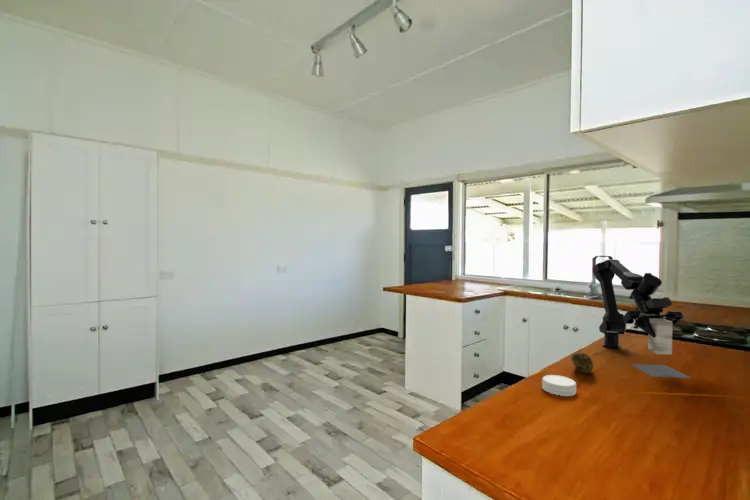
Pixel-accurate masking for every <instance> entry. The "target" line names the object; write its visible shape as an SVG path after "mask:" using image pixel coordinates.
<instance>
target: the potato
mask: <svg viewBox="0 0 750 500" xmlns="http://www.w3.org/2000/svg"><path fill="white" fill-rule="evenodd" d="M570 361H571V363H572V365H573V366H574V367H575V369H576V370H578V371H580V372H582V373H585V374H588V373H591V372H592V371H593V369H594V362H593V360H592V358H591V356H590V355H589V354H588V353H585V352H581V351H580V352H579V351H578V352H575V353H572V355H571V356H570Z"/></svg>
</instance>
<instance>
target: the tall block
mask: <svg viewBox="0 0 750 500" xmlns="http://www.w3.org/2000/svg"><path fill="white" fill-rule="evenodd" d="M649 323H650V325H651V326H652V328H653V330H654V332H655V335H656V337H652V336H651V335H650V334H648V333H647V334H648V338H647V339H648V340H647V341H648V342H647V346H648V348H647V350H648V351H650V352H652V353H654V354H657V355H673V325H672V324H673V322H672V321H669V320H666V319H656V318H649Z"/></svg>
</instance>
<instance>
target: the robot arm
mask: <svg viewBox="0 0 750 500" xmlns="http://www.w3.org/2000/svg"><path fill="white" fill-rule="evenodd" d="M592 272H593V274H594V278H595V279H596V280H597V281H598V282H599V284H600V289H601V295H602V301H603V306H604V315H602V316H603V317H602V322H601V324H600V325H599V327H598V328H599V332H600V333H601V334H603V335H604V336H603V339H604V341H603V344H602V345H601V346H602V347H605V348H611V349H618V350H619V349H620V348H621V344H620V335H625V332H626V328H627V325H633V324H634V326H636V327H639V328H640V329H641V330H642V331H644V332H646V333H647V334H650V335H651V336H652V337H656V335H655V332H654V330H653V328H652V326H651V325H650V323H649V318H656V319H666V320H669V321H672V322H673V324H672V326H675V325H678V323H680V322H681V320H682V319H683V318H684V317H685V316H684V314H683V313H682V312H681V311H678V310H668V311H667V312H666V313H665V314H661V313H663V311H664V309H667V308H669V307H671V306H672V304H673V303H672V299H670V297H662V298H661V297H660V298H657V297H656V298H652V296H653V295H654V294H655V293H656V292H657V290H658V289H659V288H660V287H661V286H662V283H663V282H662V280H661V278H659V277H658V276H656V275H653V274H652V273H651V272H645V273H644V274H643V275H640V274H638V273H636V272H635V273H634V272H632V271H631V270H629V269H628V268H627V267H626V266H624V265H623V264H622V263H621V262H620V260H618V259H610V258H609V259H606V260H604V261H602V262H599V263H596V264H595V265H593V267H592ZM615 276H617V278H618V279H620V280H621V281H620V284H621V285H622V287H623V288H624V289H625V290H627V291H628V290H629V291H631V290H632V291H631V292H630V295H629V299H630V300H633V301H634V303H635V305H636V307H635V309H628V310H627V311H626V313H625V314H623V313H621V312H620V311H619V310H618V306H617V305H618V304H617V299H616V295H615V289H614V285H613V279H614V277H615Z"/></svg>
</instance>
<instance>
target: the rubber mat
mask: <svg viewBox="0 0 750 500" xmlns="http://www.w3.org/2000/svg"><path fill="white" fill-rule="evenodd" d="M630 365H631V366H632V367H634V368H636V369H637V370H639V371H641V372H643V373H645V374H646V375H648V376H650V377H651V378H673V379H674V378H678V379H680V378H681V379H692V377H691V376H688V375H686V374H685V373H682V372H680V371H679V370H676V369H675V368H674V367H673V368H672V367H670V366H668V365H666V364H664V365H663V364H662V365H661V364H638V363H637V364H636V363H630Z"/></svg>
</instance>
